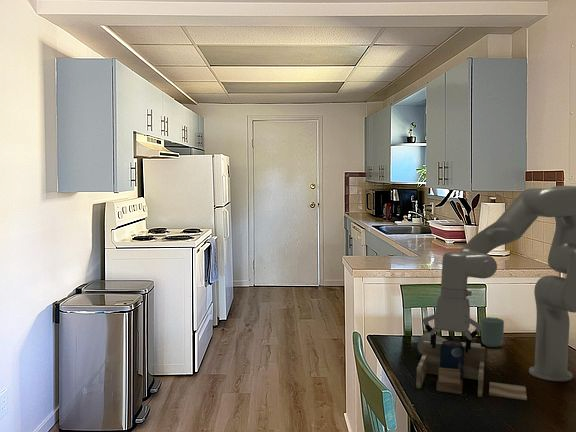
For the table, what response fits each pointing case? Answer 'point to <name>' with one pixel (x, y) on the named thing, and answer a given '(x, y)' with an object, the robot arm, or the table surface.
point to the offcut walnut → (450, 387)
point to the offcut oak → (449, 375)
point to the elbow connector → (438, 339)
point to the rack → (471, 364)
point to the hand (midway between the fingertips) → (450, 349)
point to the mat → (507, 391)
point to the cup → (492, 331)
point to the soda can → (452, 356)
